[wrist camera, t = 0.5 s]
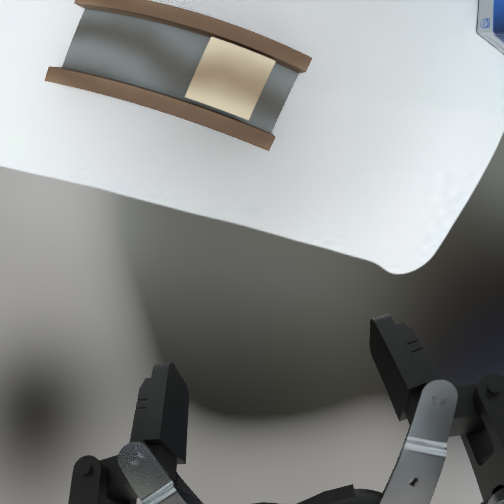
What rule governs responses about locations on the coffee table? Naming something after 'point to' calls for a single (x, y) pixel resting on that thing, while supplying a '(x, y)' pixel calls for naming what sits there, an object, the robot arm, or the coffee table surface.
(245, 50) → the maple block
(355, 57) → the coffee table surface
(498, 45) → the string lights box
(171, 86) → the walnut chute
